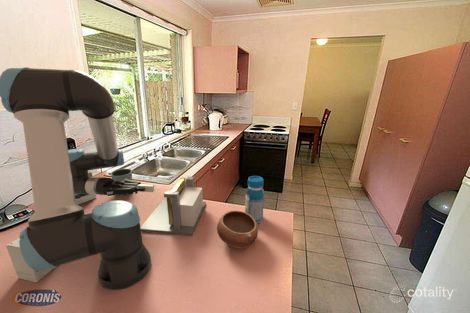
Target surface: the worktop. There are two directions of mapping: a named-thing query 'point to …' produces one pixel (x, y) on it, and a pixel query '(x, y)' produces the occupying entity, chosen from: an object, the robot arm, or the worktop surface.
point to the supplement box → (24, 264)
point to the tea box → (84, 195)
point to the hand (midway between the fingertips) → (153, 188)
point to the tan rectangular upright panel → (179, 188)
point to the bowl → (237, 229)
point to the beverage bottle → (255, 198)
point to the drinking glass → (121, 175)
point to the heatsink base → (163, 222)
